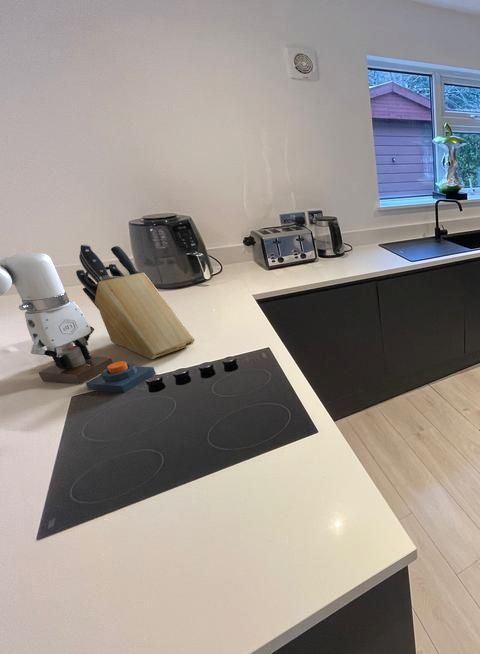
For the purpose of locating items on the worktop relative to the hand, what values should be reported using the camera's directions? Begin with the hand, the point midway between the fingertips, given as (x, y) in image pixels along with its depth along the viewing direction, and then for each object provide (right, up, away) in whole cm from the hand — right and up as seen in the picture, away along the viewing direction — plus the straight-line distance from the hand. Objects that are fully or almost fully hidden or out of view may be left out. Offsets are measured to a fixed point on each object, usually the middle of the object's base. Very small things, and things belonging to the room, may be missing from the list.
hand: (75, 363), depth 108 cm
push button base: (+15, -5, -1) cm, 16 cm away
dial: (0, 0, 0) cm, 0 cm away
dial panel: (0, -3, +1) cm, 4 cm away
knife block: (+2, +4, +19) cm, 19 cm away
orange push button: (+15, -2, -3) cm, 15 cm away
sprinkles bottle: (-12, 0, +9) cm, 14 cm away
